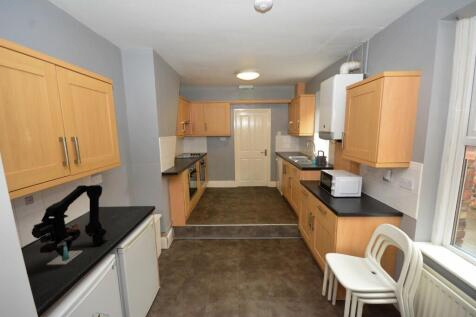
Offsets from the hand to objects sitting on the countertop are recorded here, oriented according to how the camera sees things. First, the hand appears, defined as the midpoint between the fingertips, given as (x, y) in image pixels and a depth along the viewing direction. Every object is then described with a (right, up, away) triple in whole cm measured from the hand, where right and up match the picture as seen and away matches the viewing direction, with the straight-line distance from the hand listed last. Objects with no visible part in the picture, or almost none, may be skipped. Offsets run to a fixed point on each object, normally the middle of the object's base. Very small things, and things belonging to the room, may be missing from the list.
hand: (64, 254), depth 110 cm
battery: (-20, -4, +31) cm, 37 cm away
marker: (0, -3, 0) cm, 3 cm away
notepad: (-7, -6, +9) cm, 13 cm away
